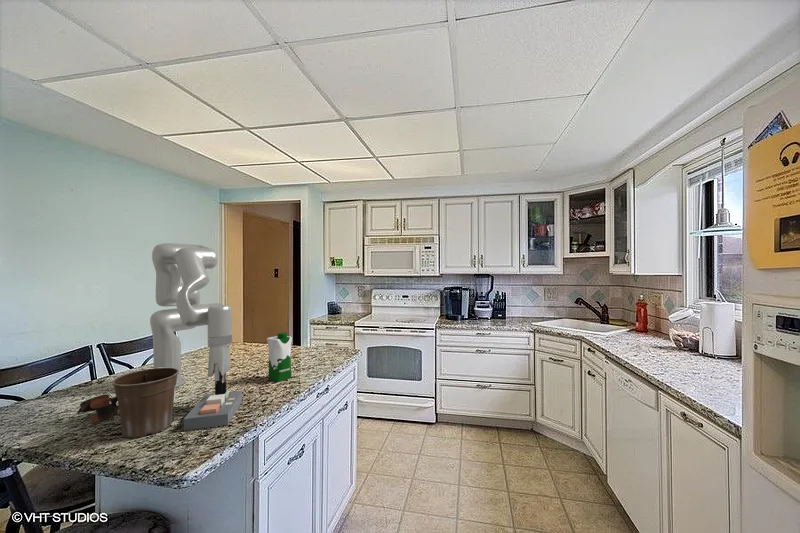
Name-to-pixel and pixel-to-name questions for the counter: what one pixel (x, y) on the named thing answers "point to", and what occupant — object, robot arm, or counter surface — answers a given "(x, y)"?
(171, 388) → the plant pot
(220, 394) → the sage key
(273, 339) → the milk carton
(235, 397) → the keypad
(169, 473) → the counter surface
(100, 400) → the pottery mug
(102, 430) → the counter surface
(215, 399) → the cream key
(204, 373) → the counter surface
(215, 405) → the terracotta key
